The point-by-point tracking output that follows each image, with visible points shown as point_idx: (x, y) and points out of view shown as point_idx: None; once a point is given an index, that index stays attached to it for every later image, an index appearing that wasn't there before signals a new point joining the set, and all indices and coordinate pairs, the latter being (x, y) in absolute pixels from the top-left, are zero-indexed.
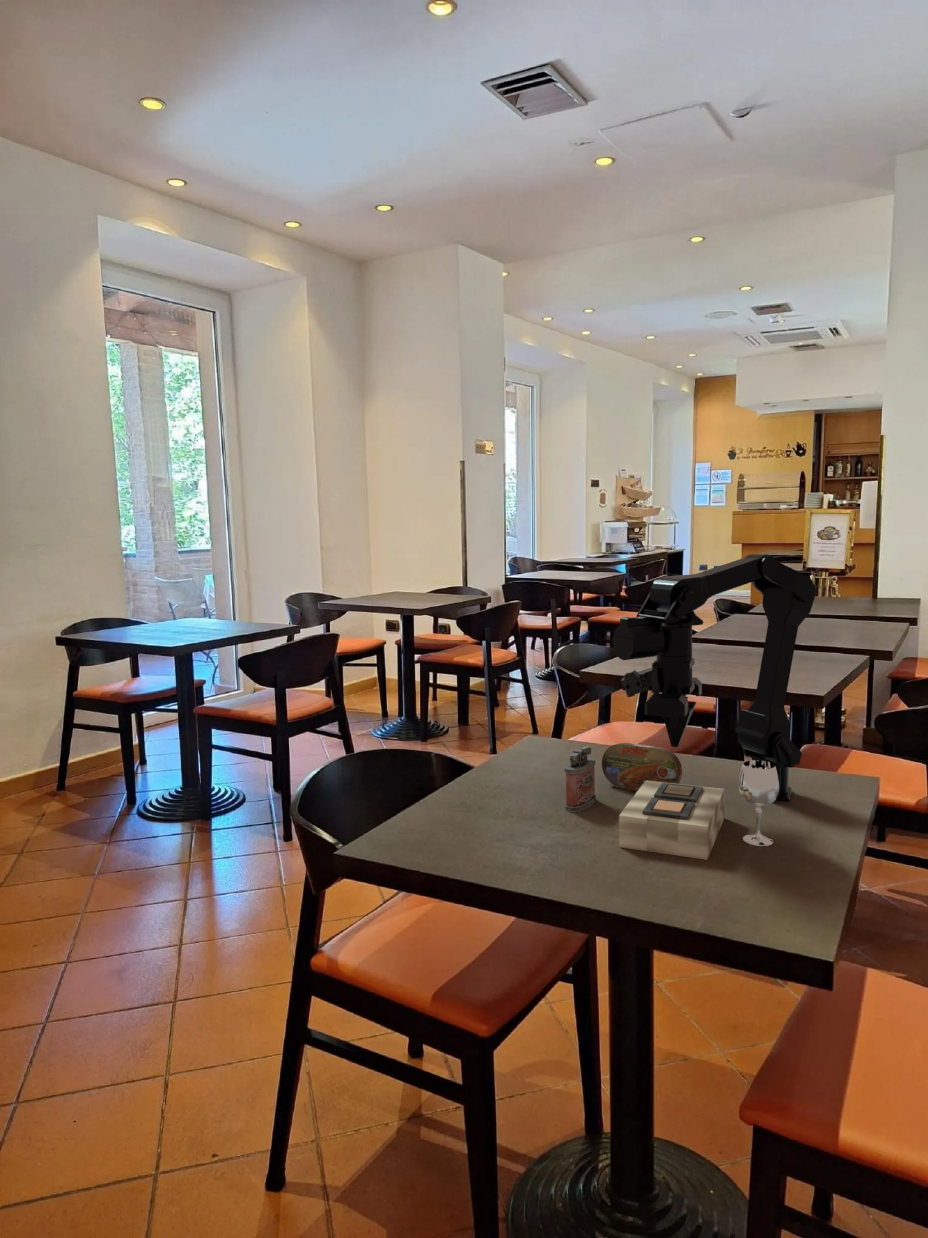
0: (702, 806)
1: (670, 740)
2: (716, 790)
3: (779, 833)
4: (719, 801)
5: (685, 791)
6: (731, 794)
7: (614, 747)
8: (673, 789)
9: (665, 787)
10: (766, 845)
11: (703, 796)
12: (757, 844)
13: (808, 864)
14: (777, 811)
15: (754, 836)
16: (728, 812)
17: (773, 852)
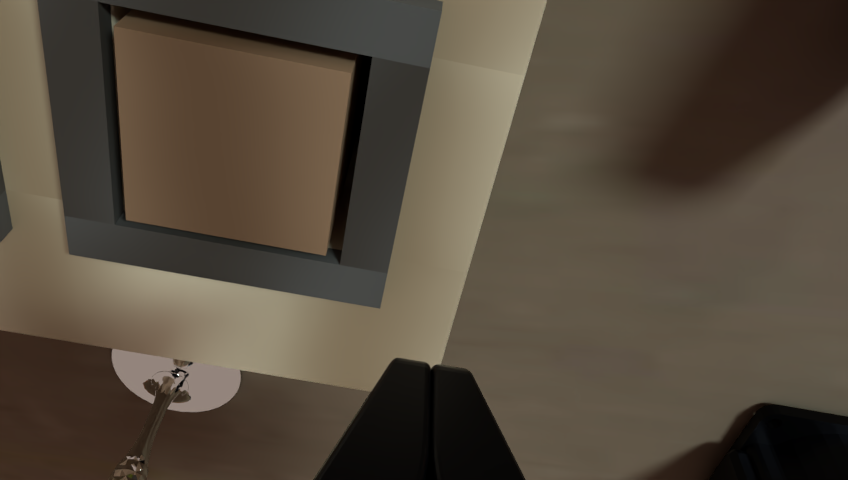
0: (21, 271)
1: (347, 428)
2: (384, 362)
3: (294, 436)
4: (192, 356)
5: (203, 199)
6: (834, 334)
7: None
8: (227, 111)
9: (288, 39)
10: (127, 387)
11: (235, 288)
12: (114, 363)
13: (17, 467)
14: (564, 462)
15: (154, 372)
16: (533, 298)
17: (74, 397)
